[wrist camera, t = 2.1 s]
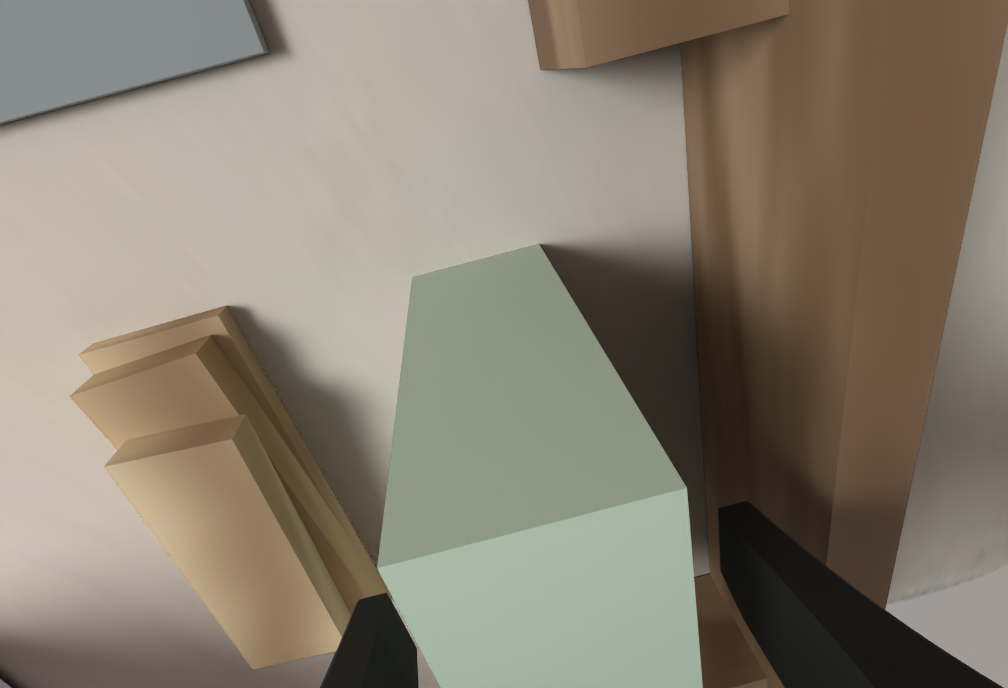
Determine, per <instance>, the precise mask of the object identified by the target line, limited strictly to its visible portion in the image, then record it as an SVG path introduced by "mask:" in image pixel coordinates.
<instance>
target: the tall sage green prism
mask: <svg viewBox="0 0 1008 688" xmlns="http://www.w3.org/2000/svg"><path fill="white" fill-rule="evenodd" d="M377 569H378V571H379V573H380V575H381V577H382V579H383V581H384V582H385V584H386V586H387V588H388V590H389V592H390V594H391V596H392V597H393V599H394V601H395V603H396V605H397V607H398V609H399V611H400V612H401V614H402V616H403V618H404V620H405V622H406V624H407V626H408V627H409V629H410V631H411V633H412V635H413V637H414V639H415V641H416V642H417V644H418V646H419V648H420V650H421V652H422V654H423V656H424V658H425V659H426V661H427V663H428V665H429V667H430V669H431V671H432V673H433V674H434V676H435V678H436V680H437V682H438V684H439V686H440V688H703V685H702V672H701V659H700V647H699V634H698V621H697V609H696V596H695V583H694V571H693V558H692V545H691V533H690V520H689V507H688V495H687V487H686V486H685V484H684V482H683V481H682V479H681V477H680V476H679V474H678V472H677V471H676V469H675V467H674V466H673V464H672V462H671V461H670V459H669V458H668V456H667V454H666V453H665V451H664V449H663V448H662V446H661V444H660V443H659V441H658V439H657V438H656V436H655V434H654V433H653V431H652V429H651V428H650V426H649V425H648V423H647V421H646V420H645V418H644V416H643V415H642V413H641V411H640V410H639V408H638V406H637V405H636V403H635V401H634V400H633V398H632V397H631V395H630V393H629V392H628V390H627V388H626V387H625V385H624V383H623V382H622V380H621V378H620V377H619V375H618V373H617V372H616V370H615V368H614V367H613V365H612V364H611V362H610V360H609V359H608V357H607V355H606V354H605V352H604V350H603V349H602V347H601V345H600V344H599V342H598V340H597V339H596V337H595V335H594V334H593V332H592V331H591V329H590V327H589V326H588V324H587V322H586V321H585V319H584V317H583V316H582V314H581V312H580V311H579V309H578V307H577V306H576V304H575V303H574V301H573V299H572V298H571V296H570V294H569V293H568V291H567V289H566V288H565V286H564V284H563V283H562V281H561V279H560V278H559V276H558V274H557V273H556V271H555V270H554V268H553V266H552V265H551V263H550V261H549V260H548V258H547V256H546V255H545V253H544V251H543V250H542V248H541V246H540V245H539V244H537V245H533V246H529V247H525V248H522V249H518V250H514V251H510V252H506V253H503V254H499V255H495V256H491V257H487V258H484V259H480V260H476V261H472V262H468V263H464V264H461V265H457V266H453V267H449V268H445V269H442V270H438V271H434V272H430V273H426V274H423V275H419V276H415V277H412V283H411V291H410V299H409V308H408V316H407V324H406V333H405V341H404V349H403V358H402V366H401V374H400V382H399V391H398V399H397V407H396V416H395V424H394V432H393V441H392V449H391V457H390V465H389V474H388V482H387V490H386V499H385V507H384V515H383V523H382V532H381V540H380V548H379V557H378V565H377Z"/></svg>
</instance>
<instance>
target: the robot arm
mask: <svg viewBox="0 0 1008 688" xmlns="http://www.w3.org/2000/svg"><path fill="white" fill-rule="evenodd" d="M718 521H719V547H720V571H721V573H722V575H723V577H724V579H725V582H726V584H727V586H728V588H729V590H730V592H731V594H732V597H733V599H734V601H735V603H736V605H737V607H738V609H739V611H740V613H741V615H742V617H743V619H744V621H745V623H746V624H747V626H748V628H749V629H750V631H751V633H752V635H753V636H754V638H755V639H756V641H757V643H758V644H759V646H760V648H761V649H762V651H763V653H764V654H765V656H766V658H767V659H768V661H769V663H770V664H771V666H772V668H773V669H774V671H775V673H776V674H777V676H778V677H779V679H780V681H781V682H782V684H783V686H784V687H785V688H1003V687H1002V686H1000V685H998V684H997V683H995V682H993V681H992V680H990V679H988V678H987V677H985V676H984V675H982V674H980V673H979V672H977V671H975V670H974V669H972V668H971V667H969V666H968V665H966V664H964V663H963V662H961V661H960V660H958V659H957V658H955V657H953V656H952V655H950V654H949V653H947V652H946V651H944V650H943V649H941V648H940V647H938V646H937V645H935V644H934V643H932V642H931V641H929V640H927V639H926V638H924V637H923V636H922V635H920V634H919V633H917V632H916V631H914V630H913V629H911V628H910V627H908V626H907V625H906V624H904V623H903V622H901V621H900V620H898V619H897V618H896V617H894V616H893V615H891V614H890V613H889V612H887V611H886V610H884V609H883V608H881V607H880V606H879V605H877V604H876V603H875V602H873V601H872V600H870V599H869V598H868V597H866V596H865V595H864V594H862V593H861V592H860V591H858V590H857V589H856V588H854V587H853V586H852V585H850V584H849V583H848V582H846V581H845V580H844V579H843V578H841V577H840V576H839V575H837V574H836V573H835V572H833V571H832V570H831V569H830V568H828V567H827V566H826V565H824V564H823V563H822V562H821V561H819V560H818V559H817V558H816V557H814V556H813V555H812V554H810V553H809V552H808V551H807V550H806V549H804V548H803V547H802V546H801V545H799V544H798V543H797V542H796V541H795V540H793V539H792V538H791V537H790V536H789V535H787V534H786V533H785V532H784V531H783V530H781V529H780V528H779V527H778V526H777V525H775V524H774V523H773V522H772V521H771V520H770V519H768V518H767V517H766V516H765V515H764V514H763V513H762V512H760V511H759V510H758V509H757V508H756V507H755V506H753V505H752V504H751V503H749V502H748V501H744V502H740V503H736V504H732V505H728V506H724V507H720V508H718ZM0 688H11V687H10V686H9V685H8V684H6V683H5V682H4V681H3V680H1V679H0ZM320 688H418V667H417V648H416V646H415V644H414V642H413V640H412V638H411V637H410V635H409V633H408V631H407V629H406V627H405V625H404V624H403V622H402V620H401V618H400V616H399V614H398V612H397V611H396V609H395V607H394V605H393V603H392V601H391V599H390V598H389V596H388V594H387V592H386V593H383V594H379V595H375V596H371V597H367V598H363V599H359V600H358V602H357V603H356V605H355V607H354V610H353V612H352V615H351V617H350V620H349V622H348V624H347V627H346V629H345V632H344V634H343V636H342V639H341V641H340V643H339V646H338V648H337V651H336V653H335V655H334V657H333V660H332V662H331V664H330V667H329V669H328V671H327V673H326V676H325V678H324V680H323V682H322V684H321V687H320Z"/></svg>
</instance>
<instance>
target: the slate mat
mask: <svg viewBox="0 0 1008 688" xmlns="http://www.w3.org/2000/svg"><path fill="white" fill-rule="evenodd" d="M267 53H270V52H269V50H268V47H267V45H266V42H265V40H264V37H263V35H262V32H261V30H260V27H259V24H258V22H257V19H256V17H255V14H254V12H253V9H252V7H251V4H250V2H249V0H0V124H4V123H8V122H11V121H15V120H19V119H23V118H26V117H30V116H34V115H38V114H41V113H45V112H49V111H53V110H56V109H60V108H64V107H68V106H71V105H75V104H79V103H83V102H86V101H90V100H94V99H98V98H102V97H105V96H109V95H113V94H117V93H120V92H124V91H128V90H132V89H135V88H139V87H143V86H147V85H150V84H154V83H158V82H162V81H165V80H169V79H173V78H177V77H180V76H184V75H188V74H192V73H196V72H199V71H203V70H207V69H211V68H214V67H218V66H222V65H226V64H229V63H233V62H237V61H241V60H244V59H248V58H252V57H256V56H259V55H263V54H267Z"/></svg>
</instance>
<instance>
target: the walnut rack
mask: <svg viewBox="0 0 1008 688" xmlns="http://www.w3.org/2000/svg"><path fill="white" fill-rule="evenodd" d="M528 2H529V8H530V14H531V19H532V25H533V31H534V37H535V42H536V48H537V54H538V60H539V65H540V70H548V69H570V68H587V67H591V66H595V65H598V64H602V63H606V62H610V61H614V60H617V59H621V58H625V57H629V56H632V55H636V54H640V53H644V52H648V51H651V50H655V49H659V48H663V47H666V46H670V45H674V44H678V43H681V61H682V79H683V97H684V115H685V133H686V151H687V169H688V187H689V205H690V223H691V241H692V259H693V277H694V295H695V313H696V331H697V350H698V368H699V386H700V404H701V422H702V440H703V458H704V476H705V494H706V512H707V530H708V548H709V566H710V574H708V575H704V576H700V577H696V578H694V583H695V596H696V609H697V621H698V634H699V647H700V659H701V672H702V685H703V688H785V687H784V686H783V684H782V682H781V681H780V679H779V677H778V676H777V674H776V673H775V671H774V669H773V668H772V666H771V664H770V663H769V661H768V659H767V658H766V656H765V654H764V653H763V651H762V649H761V648H760V646H759V644H758V643H757V641H756V639H755V638H754V636H753V635H752V633H751V631H750V629H749V628H748V626H747V624H746V623H745V621H744V619H743V617H742V615H741V613H740V611H739V609H738V607H737V605H736V603H735V601H734V599H733V597H732V594H731V592H730V590H729V588H728V586H727V584H726V582H725V579H724V577H723V575H722V573H721V571H720V547H719V521H718V508H720V507H724V506H728V505H732V504H736V503H740V502H744V501H748V502H749V503H751V504H752V505H753V506H755V507H756V508H757V509H758V510H759V511H760V512H762V513H763V514H764V515H765V516H766V517H767V518H768V519H770V520H771V521H772V522H773V523H774V524H775V525H777V526H778V527H779V528H780V529H781V530H783V531H784V532H785V533H786V534H787V535H789V536H790V537H791V538H792V539H793V540H795V541H796V542H797V543H798V544H799V545H801V546H802V547H803V548H804V549H806V550H807V551H808V552H809V553H810V554H812V555H813V556H814V557H816V558H817V559H818V560H819V561H821V562H822V563H823V564H824V565H826V566H827V567H828V568H830V569H831V570H832V571H833V572H835V573H836V574H837V575H839V576H840V577H841V578H843V579H844V580H845V581H846V582H848V583H849V584H850V585H852V586H853V587H854V588H856V589H857V590H858V591H860V592H861V593H862V594H864V595H865V596H866V597H868V598H869V599H870V600H872V601H873V602H875V603H876V604H877V605H879V606H880V607H881V608H883V609H884V610H885V608H886V603H887V598H888V594H889V589H890V584H891V579H892V574H893V570H894V565H895V560H896V555H897V550H898V546H899V541H900V536H901V531H902V527H903V522H904V517H905V512H906V507H907V503H908V498H909V493H910V488H911V483H912V479H913V474H914V469H915V464H916V459H917V455H918V450H919V445H920V440H921V435H922V431H923V426H924V421H925V416H926V412H927V407H928V402H929V397H930V392H931V388H932V383H933V378H934V373H935V368H936V364H937V359H938V354H939V349H940V344H941V340H942V335H943V330H944V325H945V321H946V316H947V311H948V306H949V301H950V297H951V292H952V287H953V282H954V277H955V273H956V268H957V263H958V258H959V253H960V249H961V244H962V239H963V234H964V229H965V225H966V220H967V215H968V210H969V206H970V201H971V196H972V191H973V186H974V182H975V177H976V172H977V167H978V162H979V158H980V153H981V148H982V143H983V138H984V134H985V129H986V124H987V119H988V114H989V110H990V105H991V100H992V95H993V91H994V86H995V81H996V76H997V71H998V67H999V62H1000V57H1001V52H1002V47H1003V43H1004V38H1005V33H1006V28H1007V23H1008V0H528Z"/></svg>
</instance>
